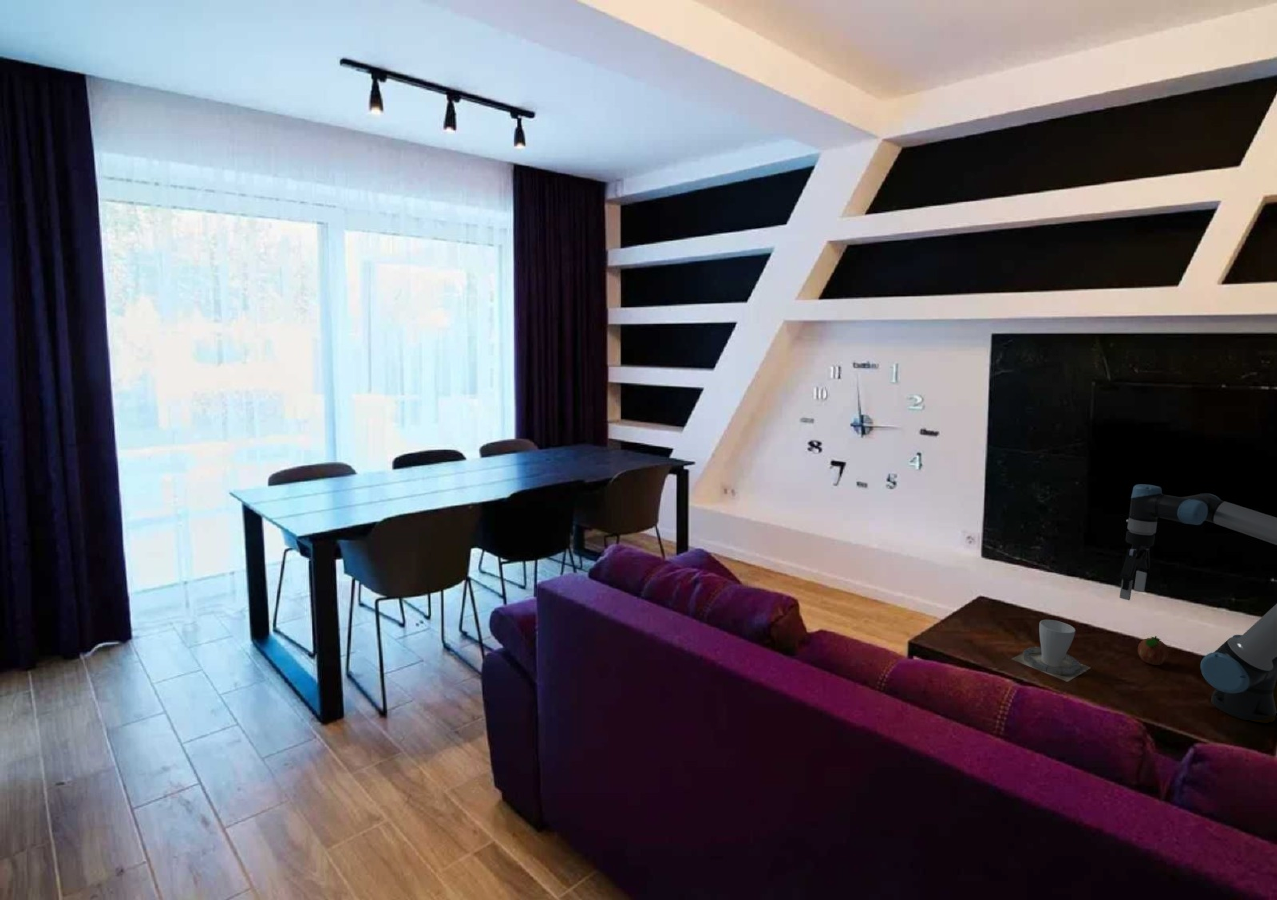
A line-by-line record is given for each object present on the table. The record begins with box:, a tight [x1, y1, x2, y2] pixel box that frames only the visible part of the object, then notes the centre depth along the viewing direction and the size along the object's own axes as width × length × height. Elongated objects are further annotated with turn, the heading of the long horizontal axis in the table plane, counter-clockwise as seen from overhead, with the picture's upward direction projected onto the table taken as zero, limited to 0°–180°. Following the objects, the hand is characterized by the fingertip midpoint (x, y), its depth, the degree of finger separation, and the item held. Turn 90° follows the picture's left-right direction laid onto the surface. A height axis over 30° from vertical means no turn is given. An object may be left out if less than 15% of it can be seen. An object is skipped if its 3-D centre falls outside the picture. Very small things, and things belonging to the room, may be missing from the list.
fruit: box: [1137, 635, 1169, 666], centre depth 241 cm, size 9×10×10 cm
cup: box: [1038, 619, 1076, 667], centre depth 234 cm, size 10×10×14 cm
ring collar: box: [1022, 646, 1081, 675], centre depth 235 cm, size 16×16×2 cm
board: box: [1011, 652, 1092, 682], centre depth 235 cm, size 18×18×1 cm
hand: (1132, 594), depth 226 cm, fingers open, 13 cm apart
